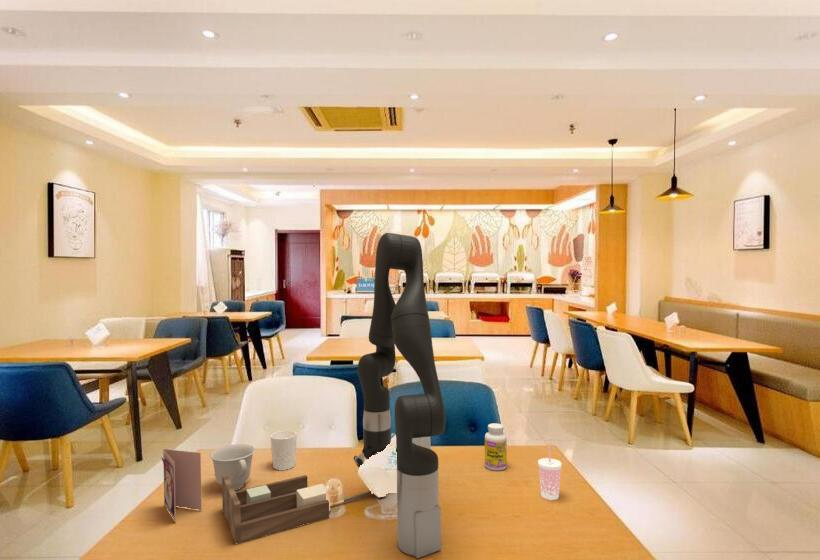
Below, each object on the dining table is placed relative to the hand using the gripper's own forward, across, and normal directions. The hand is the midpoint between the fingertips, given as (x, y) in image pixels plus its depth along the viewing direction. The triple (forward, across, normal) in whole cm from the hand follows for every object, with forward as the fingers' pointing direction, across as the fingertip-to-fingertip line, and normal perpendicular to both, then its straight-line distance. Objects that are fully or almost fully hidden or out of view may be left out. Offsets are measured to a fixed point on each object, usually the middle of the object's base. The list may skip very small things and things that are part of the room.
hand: (377, 488), depth 128 cm
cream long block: (+1, -10, 0) cm, 10 cm away
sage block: (+2, -30, +9) cm, 31 cm away
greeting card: (+2, -47, +19) cm, 50 cm away
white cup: (+2, -16, +32) cm, 36 cm away
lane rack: (+2, -27, +4) cm, 27 cm away
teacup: (+2, -32, +24) cm, 41 cm away
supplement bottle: (+2, +39, -3) cm, 39 cm away
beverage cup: (+2, +39, -25) cm, 46 cm away
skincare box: (+2, +22, +14) cm, 26 cm away
